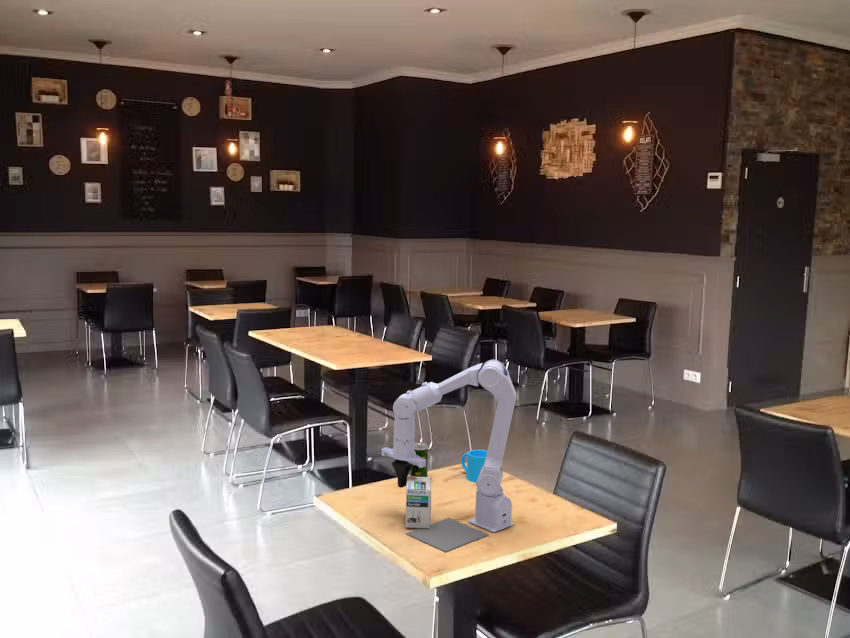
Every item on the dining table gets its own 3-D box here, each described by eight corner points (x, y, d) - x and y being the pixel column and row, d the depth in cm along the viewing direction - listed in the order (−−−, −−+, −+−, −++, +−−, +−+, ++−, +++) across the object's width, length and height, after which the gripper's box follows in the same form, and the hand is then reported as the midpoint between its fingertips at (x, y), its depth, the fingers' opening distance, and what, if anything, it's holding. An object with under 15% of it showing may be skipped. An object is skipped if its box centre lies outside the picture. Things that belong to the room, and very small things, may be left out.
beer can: (410, 478, 248) (411, 441, 246) (427, 479, 248) (428, 442, 246) (409, 484, 243) (410, 446, 241) (427, 485, 243) (428, 447, 241)
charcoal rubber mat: (488, 535, 206) (488, 534, 206) (445, 552, 195) (445, 551, 195) (449, 518, 216) (449, 517, 216) (405, 534, 205) (405, 533, 205)
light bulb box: (430, 529, 208) (431, 489, 207) (404, 528, 208) (406, 488, 207) (430, 513, 219) (431, 476, 218) (405, 513, 219) (407, 475, 217)
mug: (497, 479, 250) (498, 454, 249) (480, 484, 244) (481, 459, 243) (469, 469, 258) (470, 445, 257) (452, 474, 253) (453, 450, 252)
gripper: (434, 441, 214) (431, 489, 216) (394, 430, 223) (392, 476, 225) (417, 446, 208) (415, 496, 210) (376, 434, 218) (375, 482, 219)
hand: (402, 486), depth 217 cm, fingers closed
